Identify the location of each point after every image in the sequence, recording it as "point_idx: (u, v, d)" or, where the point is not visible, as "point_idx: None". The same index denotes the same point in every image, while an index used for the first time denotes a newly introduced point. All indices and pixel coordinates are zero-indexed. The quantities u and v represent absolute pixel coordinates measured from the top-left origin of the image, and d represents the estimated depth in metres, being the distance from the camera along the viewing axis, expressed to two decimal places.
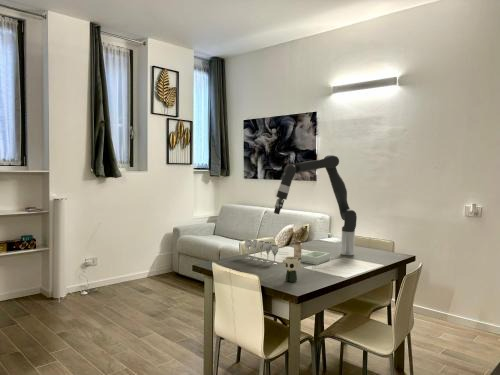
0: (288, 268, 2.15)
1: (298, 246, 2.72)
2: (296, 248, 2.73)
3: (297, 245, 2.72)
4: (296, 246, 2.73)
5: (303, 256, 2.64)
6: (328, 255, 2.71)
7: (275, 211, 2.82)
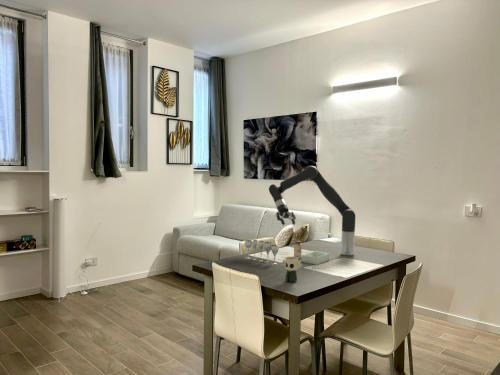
0: (288, 268, 2.15)
1: (298, 246, 2.72)
2: (296, 248, 2.73)
3: (297, 245, 2.72)
4: (296, 246, 2.73)
5: (303, 256, 2.64)
6: (328, 255, 2.71)
7: (292, 222, 2.87)
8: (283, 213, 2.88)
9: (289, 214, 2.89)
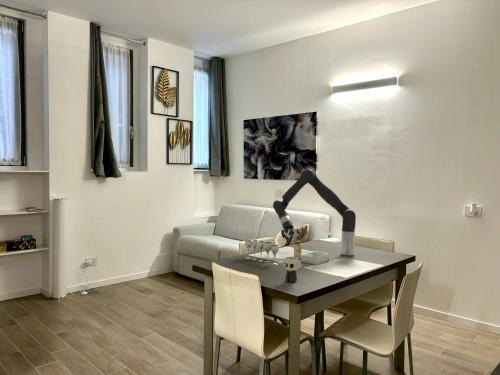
0: (288, 268, 2.15)
1: (298, 246, 2.72)
2: (296, 248, 2.73)
3: (297, 245, 2.72)
4: (296, 246, 2.73)
5: (303, 256, 2.64)
6: (328, 255, 2.71)
7: (298, 240, 2.82)
8: (288, 230, 2.82)
9: (294, 231, 2.83)
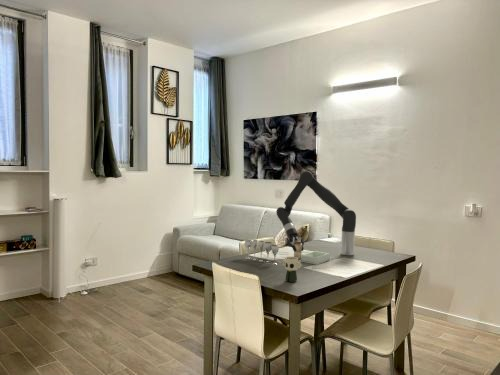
0: (288, 268, 2.15)
1: (298, 246, 2.72)
2: (296, 248, 2.73)
3: (297, 245, 2.72)
4: (296, 246, 2.73)
5: (303, 256, 2.64)
6: (328, 255, 2.71)
7: None
8: (293, 238, 2.77)
9: (298, 239, 2.78)
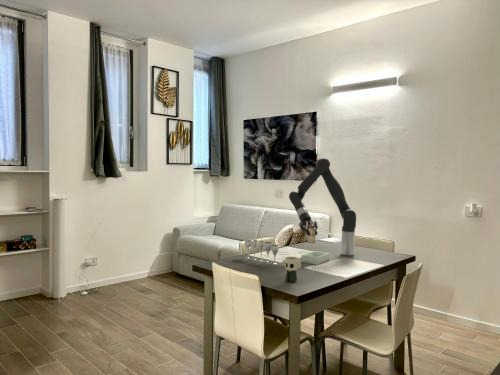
0: (288, 268, 2.15)
1: (312, 230, 2.67)
2: (310, 232, 2.68)
3: (311, 229, 2.67)
4: (310, 230, 2.68)
5: (303, 256, 2.64)
6: (328, 255, 2.71)
7: (315, 233, 2.71)
8: (306, 222, 2.72)
9: (311, 223, 2.73)
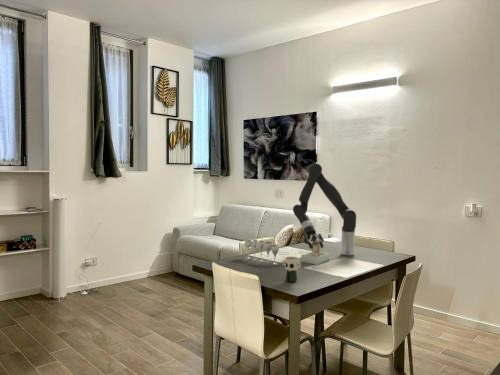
0: (288, 268, 2.15)
1: (316, 247, 2.66)
2: (314, 249, 2.67)
3: (315, 246, 2.66)
4: (314, 247, 2.66)
5: (303, 256, 2.64)
6: (328, 255, 2.71)
7: (320, 245, 2.70)
8: (310, 236, 2.70)
9: (316, 236, 2.72)
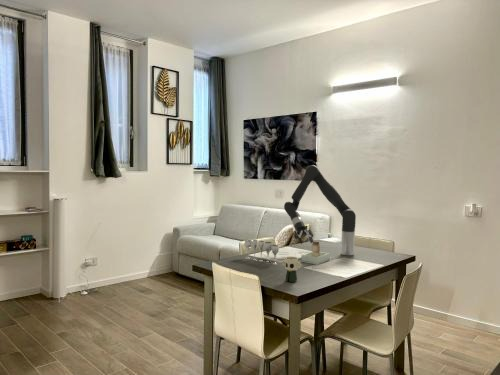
0: (288, 268, 2.15)
1: (316, 247, 2.66)
2: (314, 249, 2.67)
3: (315, 246, 2.66)
4: (314, 247, 2.66)
5: (303, 256, 2.64)
6: (328, 255, 2.71)
7: (310, 240, 2.82)
8: (300, 231, 2.82)
9: (306, 232, 2.84)
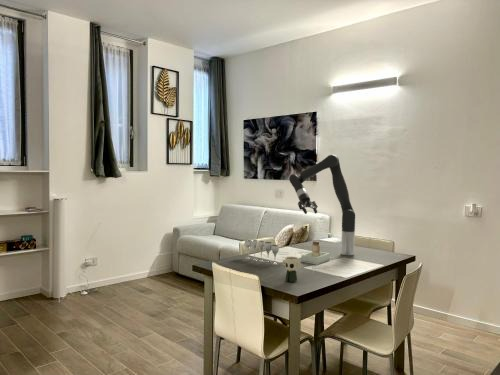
0: (288, 268, 2.15)
1: (316, 247, 2.66)
2: (314, 249, 2.67)
3: (315, 246, 2.66)
4: (314, 247, 2.67)
5: (303, 256, 2.64)
6: (328, 255, 2.71)
7: (314, 211, 2.87)
8: (305, 202, 2.87)
9: (311, 203, 2.88)
